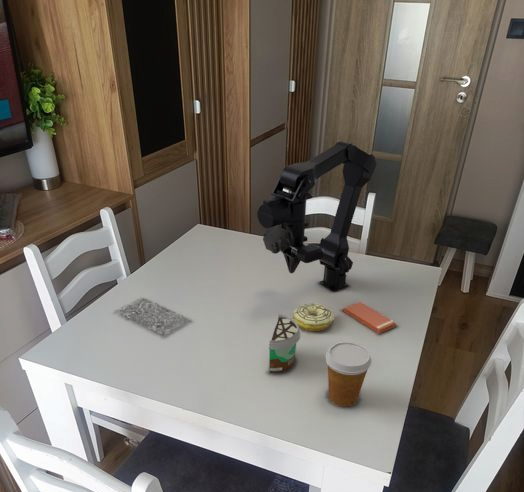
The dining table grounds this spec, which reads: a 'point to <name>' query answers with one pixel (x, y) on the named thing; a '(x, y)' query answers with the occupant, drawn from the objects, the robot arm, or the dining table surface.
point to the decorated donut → (313, 317)
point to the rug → (152, 316)
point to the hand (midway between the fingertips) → (291, 272)
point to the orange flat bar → (369, 317)
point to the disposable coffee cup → (346, 372)
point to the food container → (283, 344)
